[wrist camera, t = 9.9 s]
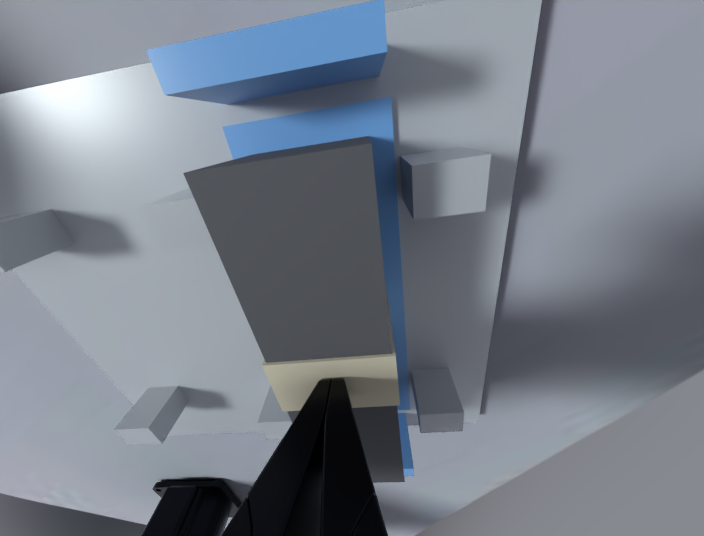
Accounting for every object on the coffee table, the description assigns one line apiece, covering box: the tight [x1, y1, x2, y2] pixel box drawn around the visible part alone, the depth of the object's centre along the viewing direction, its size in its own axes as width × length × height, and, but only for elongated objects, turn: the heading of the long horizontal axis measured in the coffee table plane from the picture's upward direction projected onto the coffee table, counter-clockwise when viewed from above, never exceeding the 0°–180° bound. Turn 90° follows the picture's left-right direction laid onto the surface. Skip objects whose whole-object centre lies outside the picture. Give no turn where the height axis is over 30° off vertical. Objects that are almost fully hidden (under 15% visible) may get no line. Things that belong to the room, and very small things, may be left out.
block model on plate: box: [0, 0, 542, 476], centre depth 12 cm, size 20×22×4 cm
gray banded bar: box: [183, 136, 405, 483], centre depth 10 cm, size 14×4×4 cm, turn 8°
